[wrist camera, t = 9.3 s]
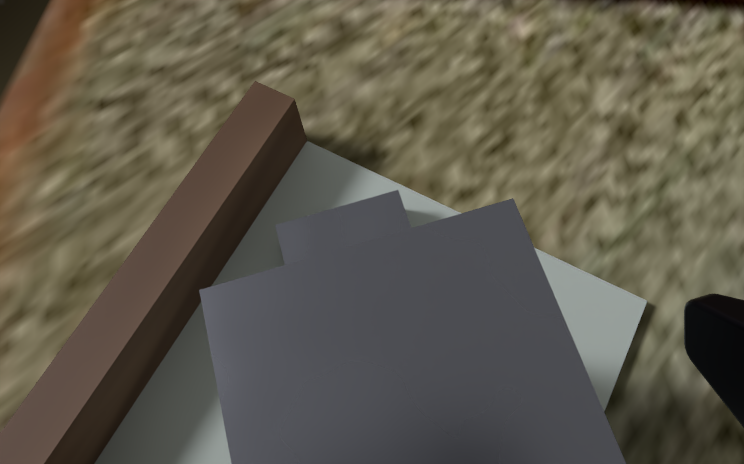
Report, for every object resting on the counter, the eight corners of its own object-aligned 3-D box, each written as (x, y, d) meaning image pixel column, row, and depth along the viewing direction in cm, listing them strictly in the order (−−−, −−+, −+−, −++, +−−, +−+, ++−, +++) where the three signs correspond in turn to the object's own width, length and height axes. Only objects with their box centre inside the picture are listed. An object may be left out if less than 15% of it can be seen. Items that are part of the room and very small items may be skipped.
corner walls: (642, 303, 18) (687, 277, 15) (449, 795, 14) (463, 886, 11) (274, 130, 21) (255, 80, 18) (25, 492, 17) (-51, 503, 14)
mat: (642, 303, 18) (647, 300, 17) (449, 795, 14) (451, 805, 13) (274, 130, 21) (272, 124, 20) (25, 492, 17) (16, 494, 16)
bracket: (490, 480, 16) (663, 549, 6) (355, 524, 16) (271, 680, 5) (398, 208, 19) (397, -72, 9) (284, 241, 19) (144, -6, 8)
